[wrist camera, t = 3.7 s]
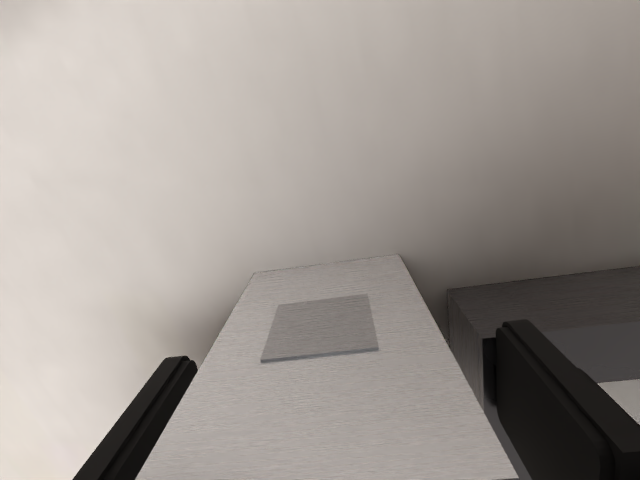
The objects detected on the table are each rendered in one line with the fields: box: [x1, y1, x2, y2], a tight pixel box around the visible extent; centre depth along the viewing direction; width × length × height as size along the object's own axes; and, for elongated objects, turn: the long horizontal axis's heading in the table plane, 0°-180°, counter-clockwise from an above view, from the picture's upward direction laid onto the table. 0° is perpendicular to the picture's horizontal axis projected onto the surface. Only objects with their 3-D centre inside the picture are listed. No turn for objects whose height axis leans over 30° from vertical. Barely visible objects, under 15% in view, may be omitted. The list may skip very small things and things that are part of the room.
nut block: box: [135, 254, 519, 480], centre depth 9 cm, size 5×5×8 cm
